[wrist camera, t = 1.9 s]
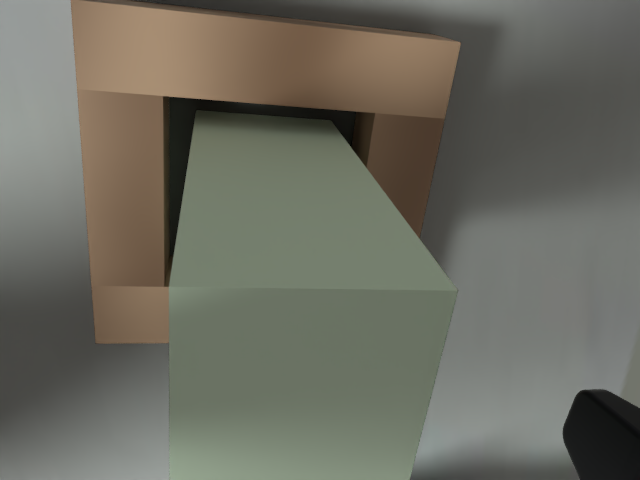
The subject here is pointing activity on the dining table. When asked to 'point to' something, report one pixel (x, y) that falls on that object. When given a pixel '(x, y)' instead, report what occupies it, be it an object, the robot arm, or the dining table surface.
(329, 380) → the tall mint pillar
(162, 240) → the walnut collar
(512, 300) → the dining table surface
